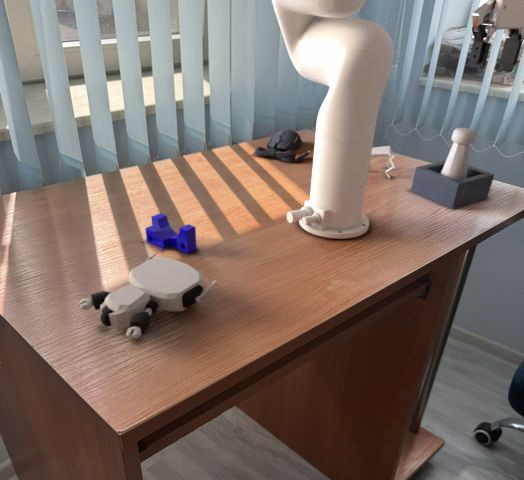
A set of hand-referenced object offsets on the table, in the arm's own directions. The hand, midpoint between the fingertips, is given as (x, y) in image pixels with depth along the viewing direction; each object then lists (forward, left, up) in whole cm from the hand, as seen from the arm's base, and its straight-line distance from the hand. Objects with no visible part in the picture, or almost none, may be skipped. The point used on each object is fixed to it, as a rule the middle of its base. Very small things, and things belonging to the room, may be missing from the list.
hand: (491, 65), depth 95 cm
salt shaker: (-3, 0, -24) cm, 24 cm away
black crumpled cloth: (-15, +39, -24) cm, 49 cm away
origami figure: (-6, +17, -24) cm, 30 cm away
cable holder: (-63, +7, -24) cm, 68 cm away
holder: (-3, 0, -24) cm, 24 cm away
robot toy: (-74, -9, -24) cm, 78 cm away
